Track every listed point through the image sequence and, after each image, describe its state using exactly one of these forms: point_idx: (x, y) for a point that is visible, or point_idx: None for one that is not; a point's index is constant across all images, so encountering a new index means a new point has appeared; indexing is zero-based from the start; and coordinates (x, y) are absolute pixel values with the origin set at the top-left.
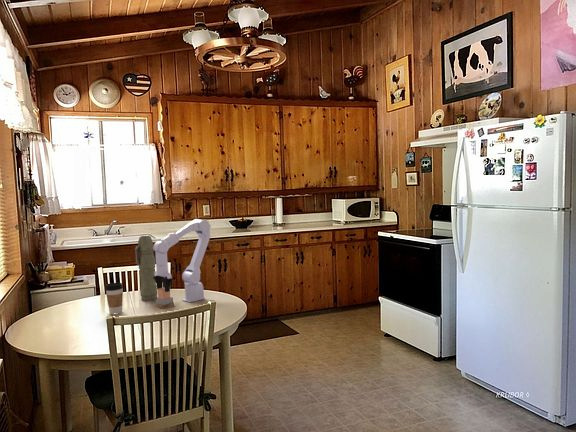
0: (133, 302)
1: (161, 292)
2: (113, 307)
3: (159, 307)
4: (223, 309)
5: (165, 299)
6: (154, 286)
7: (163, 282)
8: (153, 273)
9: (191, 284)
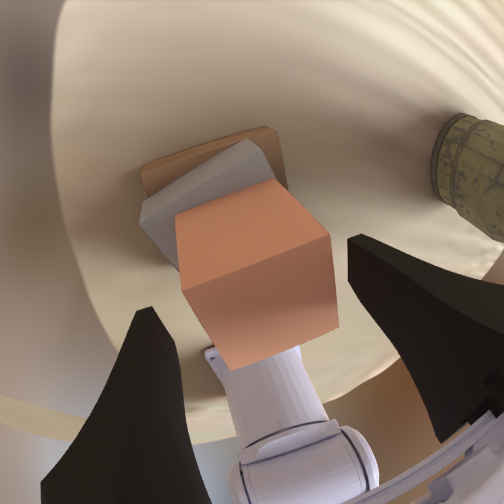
0: (459, 58)
1: (203, 252)
2: None
3: (186, 150)
4: (31, 409)
5: (162, 240)
6: (497, 226)
7: (106, 445)
8: None
9: (239, 456)
